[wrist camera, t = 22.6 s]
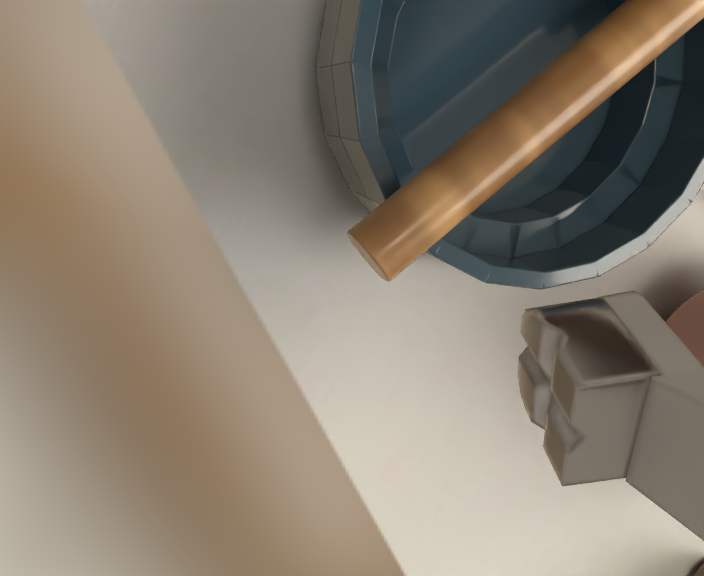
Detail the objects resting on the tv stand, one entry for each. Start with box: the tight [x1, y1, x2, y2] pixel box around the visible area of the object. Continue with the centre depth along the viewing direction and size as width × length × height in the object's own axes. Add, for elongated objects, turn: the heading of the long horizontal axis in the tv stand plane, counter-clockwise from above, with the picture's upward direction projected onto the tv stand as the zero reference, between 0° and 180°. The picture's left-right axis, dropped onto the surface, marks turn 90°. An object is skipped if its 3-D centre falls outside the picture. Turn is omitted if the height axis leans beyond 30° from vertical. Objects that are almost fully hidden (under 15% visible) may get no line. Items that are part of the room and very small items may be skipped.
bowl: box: [316, 0, 704, 289], centre depth 28 cm, size 18×18×6 cm
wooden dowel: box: [347, 0, 704, 282], centre depth 24 cm, size 22×4×2 cm, turn 127°
